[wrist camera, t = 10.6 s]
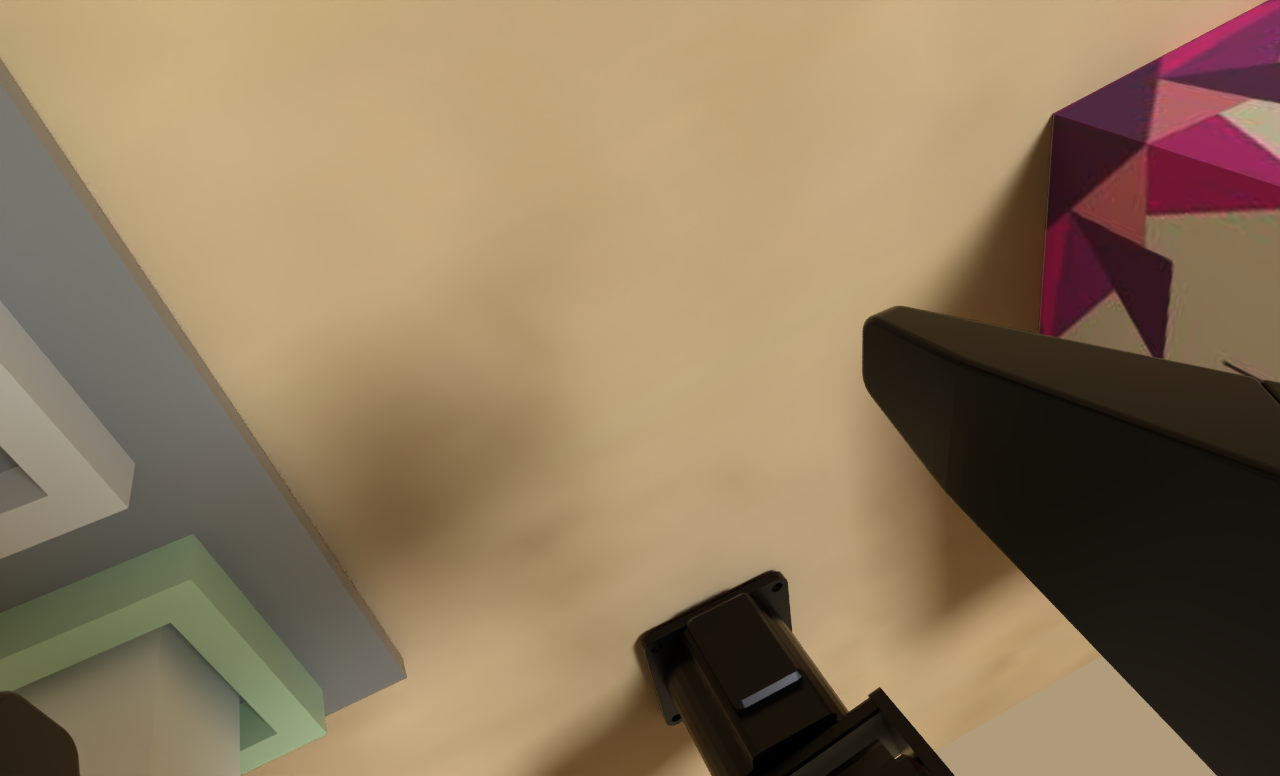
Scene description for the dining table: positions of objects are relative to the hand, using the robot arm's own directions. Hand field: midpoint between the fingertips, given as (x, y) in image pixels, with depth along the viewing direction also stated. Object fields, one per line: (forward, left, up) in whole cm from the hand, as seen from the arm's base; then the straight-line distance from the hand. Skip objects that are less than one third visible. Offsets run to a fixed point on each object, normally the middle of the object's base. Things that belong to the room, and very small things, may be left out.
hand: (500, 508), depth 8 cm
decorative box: (-13, -31, -12) cm, 36 cm away
